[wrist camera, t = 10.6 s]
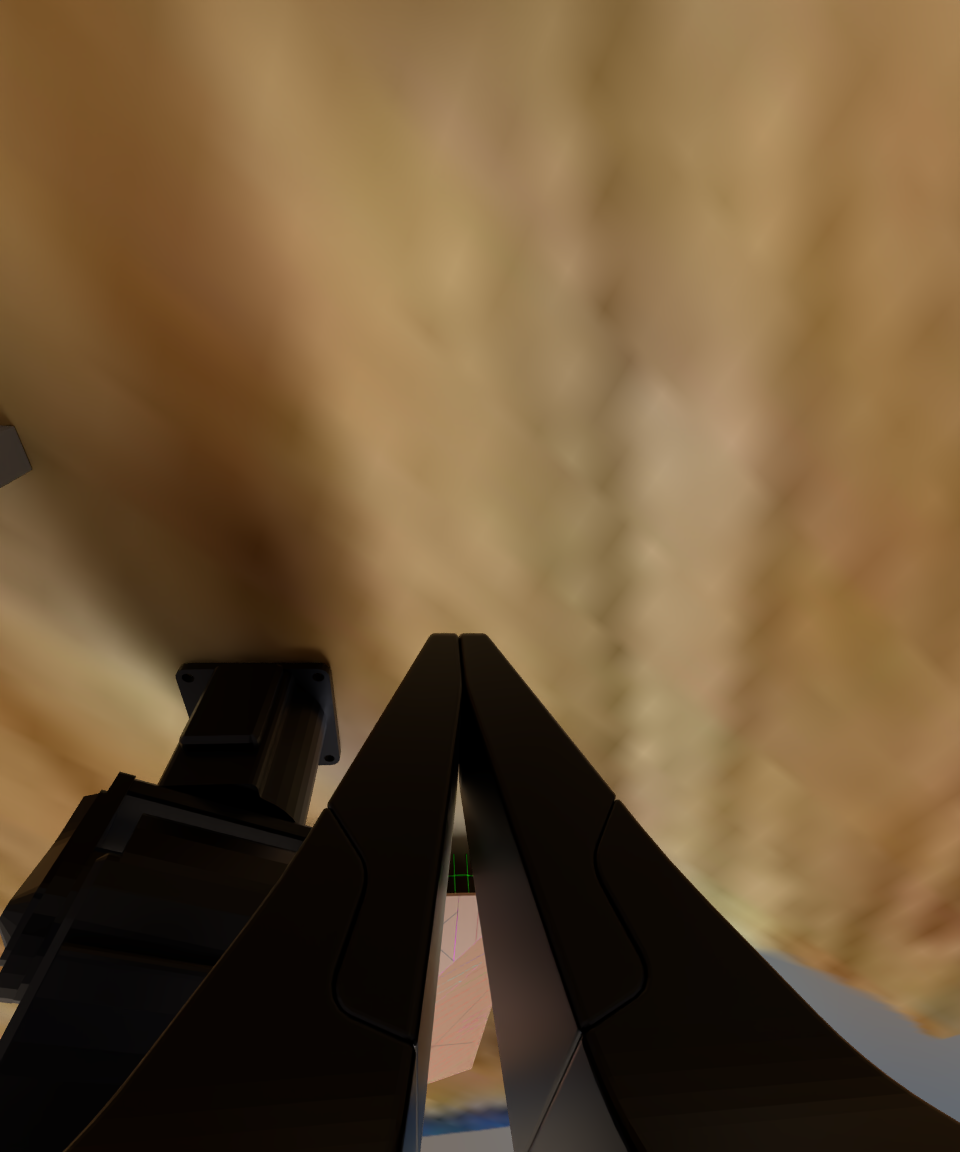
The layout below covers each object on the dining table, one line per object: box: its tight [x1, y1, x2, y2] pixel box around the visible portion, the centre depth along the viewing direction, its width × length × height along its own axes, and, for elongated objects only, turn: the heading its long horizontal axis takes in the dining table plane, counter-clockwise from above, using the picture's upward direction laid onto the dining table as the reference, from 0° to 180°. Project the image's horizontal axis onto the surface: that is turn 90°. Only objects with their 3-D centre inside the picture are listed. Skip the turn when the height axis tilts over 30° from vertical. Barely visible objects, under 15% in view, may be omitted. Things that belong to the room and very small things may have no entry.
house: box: [427, 854, 492, 1084], centre depth 37 cm, size 23×33×8 cm
